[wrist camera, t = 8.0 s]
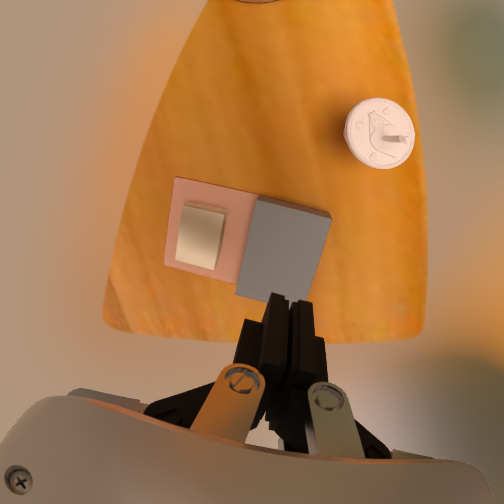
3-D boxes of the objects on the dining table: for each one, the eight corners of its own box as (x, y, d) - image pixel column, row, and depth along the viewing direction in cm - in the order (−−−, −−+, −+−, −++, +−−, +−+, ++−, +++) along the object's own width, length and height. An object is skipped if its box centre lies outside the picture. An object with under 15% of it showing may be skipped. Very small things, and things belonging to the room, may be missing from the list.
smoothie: (349, 171, 33) (383, 190, 20) (321, 123, 32) (340, 111, 19) (393, 146, 31) (449, 154, 18) (367, 98, 30) (410, 77, 17)
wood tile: (224, 214, 34) (228, 209, 36) (182, 205, 34) (189, 200, 37) (213, 270, 37) (218, 262, 39) (175, 259, 37) (181, 252, 39)
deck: (259, 194, 36) (256, 199, 33) (329, 212, 35) (332, 219, 33) (239, 283, 40) (235, 294, 37) (301, 299, 40) (302, 311, 37)
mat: (176, 176, 36) (175, 176, 36) (259, 194, 36) (259, 195, 35) (164, 263, 41) (163, 264, 40) (239, 283, 40) (238, 285, 40)
